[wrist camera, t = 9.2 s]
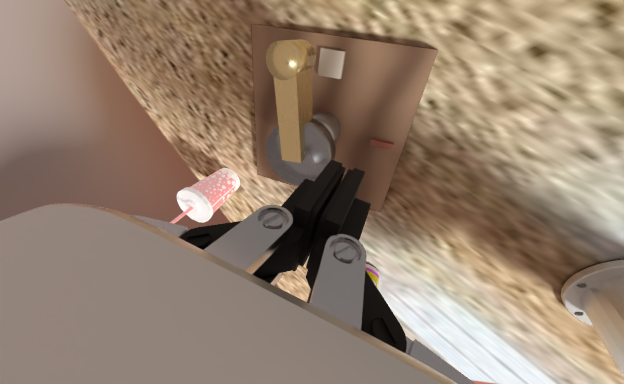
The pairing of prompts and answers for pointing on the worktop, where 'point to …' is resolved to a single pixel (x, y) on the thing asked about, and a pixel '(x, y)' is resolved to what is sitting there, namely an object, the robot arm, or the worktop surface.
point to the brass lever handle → (296, 115)
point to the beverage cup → (207, 195)
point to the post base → (349, 101)
